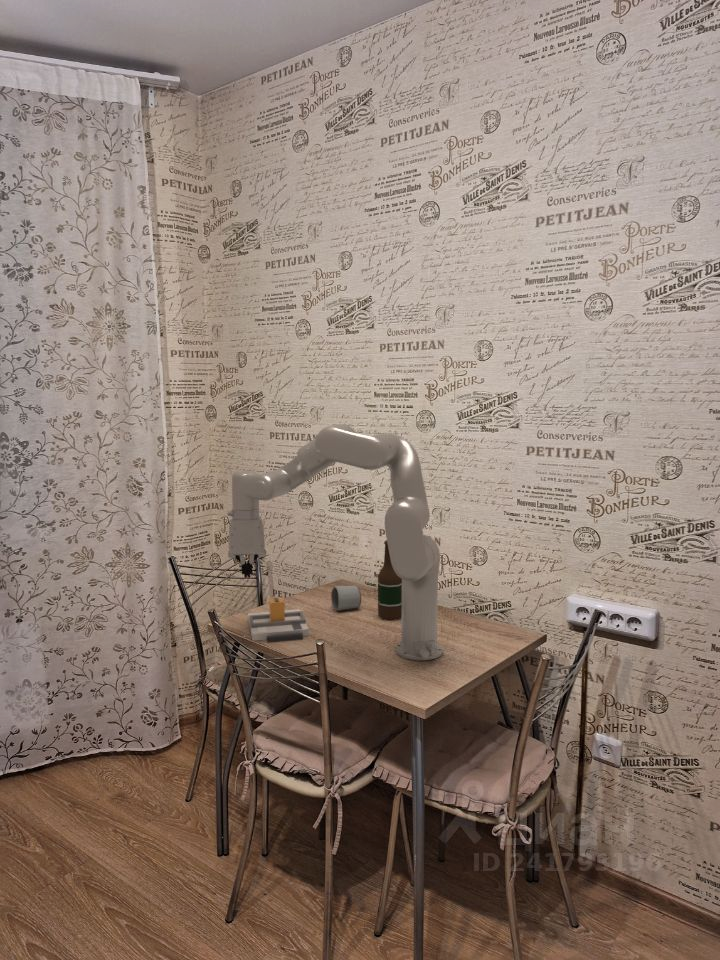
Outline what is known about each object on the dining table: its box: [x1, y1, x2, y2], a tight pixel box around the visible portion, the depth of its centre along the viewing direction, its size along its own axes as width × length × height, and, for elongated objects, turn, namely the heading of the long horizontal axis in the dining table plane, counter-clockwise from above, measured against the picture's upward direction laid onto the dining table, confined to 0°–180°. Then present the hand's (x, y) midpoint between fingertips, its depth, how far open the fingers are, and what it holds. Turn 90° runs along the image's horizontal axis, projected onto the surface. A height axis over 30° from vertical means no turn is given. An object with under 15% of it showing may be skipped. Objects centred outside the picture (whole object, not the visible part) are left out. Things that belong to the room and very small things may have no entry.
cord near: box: [266, 633, 304, 643], centre depth 192 cm, size 1×10×1 cm, turn 103°
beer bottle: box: [377, 539, 402, 621], centre depth 209 cm, size 8×8×24 cm
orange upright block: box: [268, 597, 285, 622], centre depth 201 cm, size 4×4×6 cm
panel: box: [247, 608, 310, 642], centre depth 202 cm, size 18×16×3 cm
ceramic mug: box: [330, 585, 362, 612], centre depth 219 cm, size 11×8×8 cm
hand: (247, 576), depth 198 cm, fingers closed
